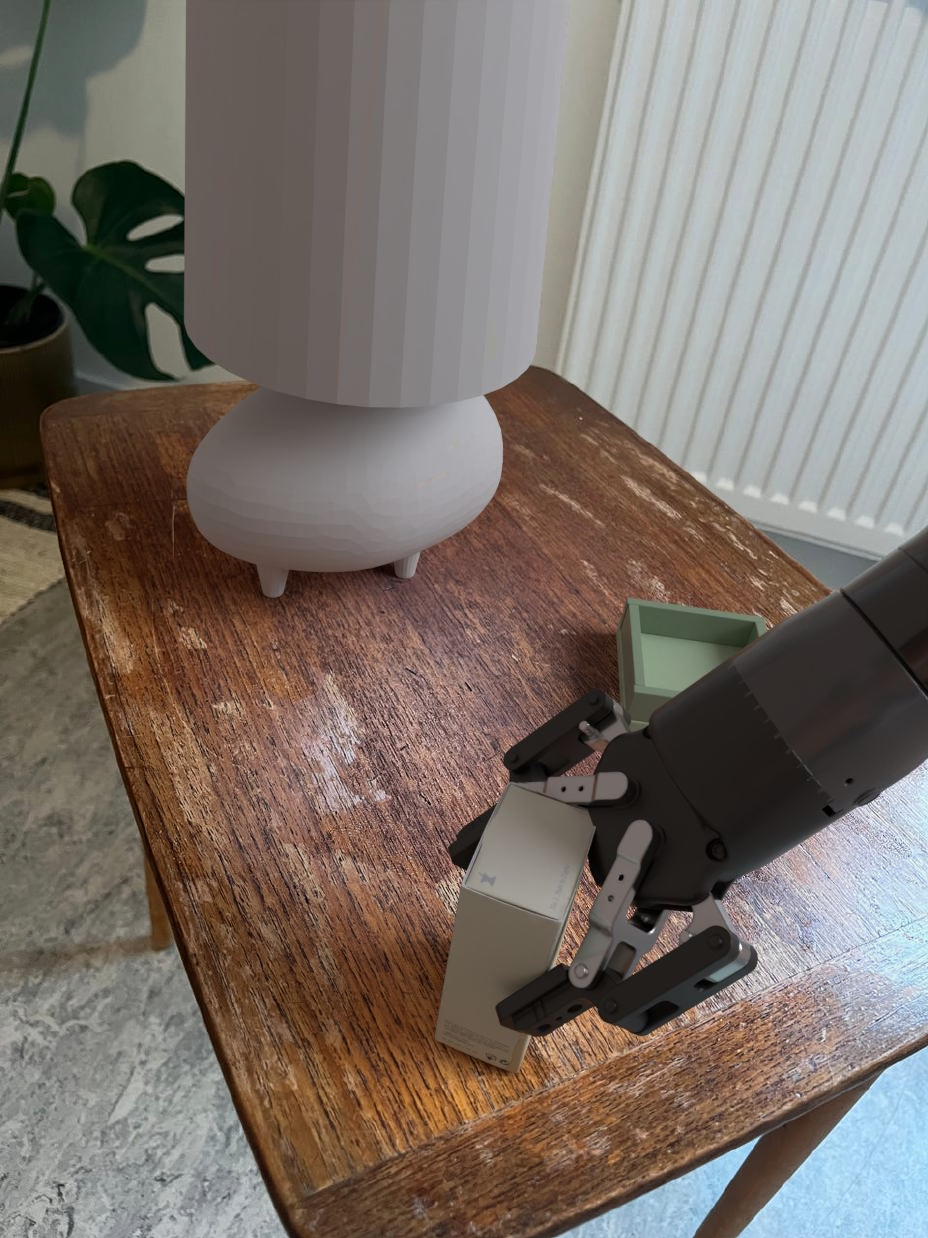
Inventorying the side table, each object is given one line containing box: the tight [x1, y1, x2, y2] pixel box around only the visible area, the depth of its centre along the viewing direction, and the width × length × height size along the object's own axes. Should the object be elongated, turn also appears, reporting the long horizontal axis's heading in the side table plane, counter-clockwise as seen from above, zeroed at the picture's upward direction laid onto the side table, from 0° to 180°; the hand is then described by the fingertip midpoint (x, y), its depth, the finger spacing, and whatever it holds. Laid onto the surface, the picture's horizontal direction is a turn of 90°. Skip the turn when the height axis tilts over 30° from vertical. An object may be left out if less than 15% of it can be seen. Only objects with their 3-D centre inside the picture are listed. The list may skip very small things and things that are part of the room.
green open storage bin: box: [615, 597, 768, 732], centre depth 65 cm, size 10×10×4 cm
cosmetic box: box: [434, 781, 596, 1074], centre depth 43 cm, size 6×4×12 cm
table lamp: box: [183, 0, 571, 598], centre depth 59 cm, size 23×22×40 cm
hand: (482, 937), depth 43 cm, fingers open, 7 cm apart
